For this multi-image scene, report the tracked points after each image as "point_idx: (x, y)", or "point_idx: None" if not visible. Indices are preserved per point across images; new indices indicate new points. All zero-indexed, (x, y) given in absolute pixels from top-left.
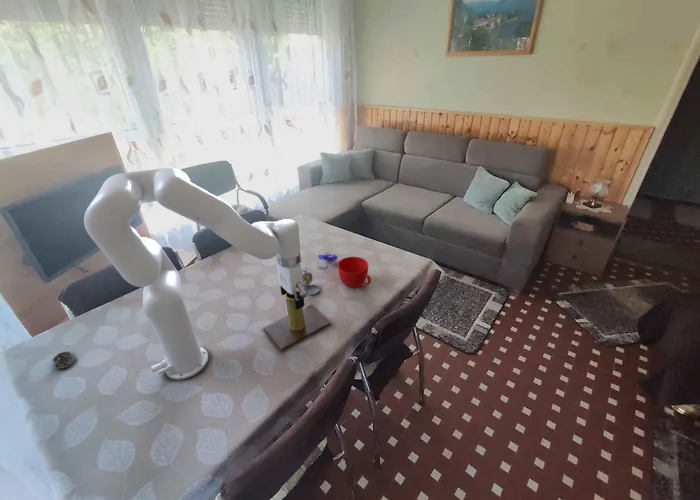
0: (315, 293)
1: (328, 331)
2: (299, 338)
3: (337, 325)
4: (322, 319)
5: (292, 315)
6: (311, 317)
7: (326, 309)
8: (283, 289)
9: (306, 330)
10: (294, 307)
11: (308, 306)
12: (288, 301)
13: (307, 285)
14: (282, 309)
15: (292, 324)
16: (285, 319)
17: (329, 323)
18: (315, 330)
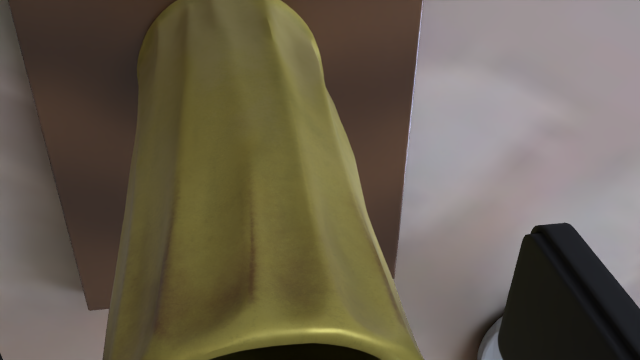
0: (481, 353)
1: (18, 257)
2: (19, 2)
3: (53, 333)
4: None
5: (167, 114)
6: None
7: None
8: (587, 357)
9: (102, 117)
10: (127, 245)
11: (392, 261)
12: (218, 265)
13: None
14: (551, 63)
15: (178, 37)
16: (390, 18)
17: (89, 305)
18: (56, 184)
